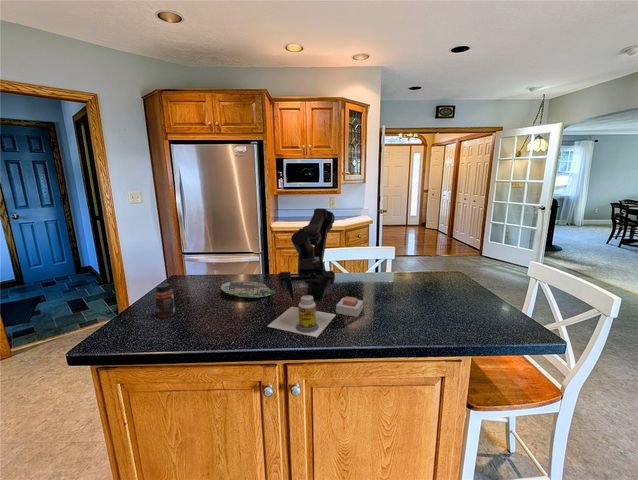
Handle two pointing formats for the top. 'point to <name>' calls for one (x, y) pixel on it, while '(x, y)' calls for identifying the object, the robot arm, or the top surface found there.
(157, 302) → the supplement bottle
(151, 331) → the top surface
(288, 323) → the drawing paper
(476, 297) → the top surface
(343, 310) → the button housing
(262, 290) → the city model
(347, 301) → the button
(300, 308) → the supplement bottle
